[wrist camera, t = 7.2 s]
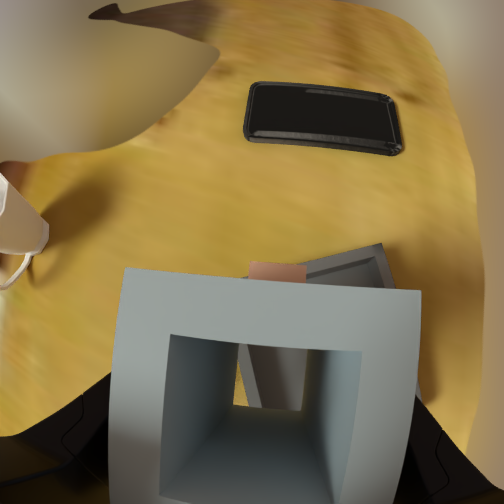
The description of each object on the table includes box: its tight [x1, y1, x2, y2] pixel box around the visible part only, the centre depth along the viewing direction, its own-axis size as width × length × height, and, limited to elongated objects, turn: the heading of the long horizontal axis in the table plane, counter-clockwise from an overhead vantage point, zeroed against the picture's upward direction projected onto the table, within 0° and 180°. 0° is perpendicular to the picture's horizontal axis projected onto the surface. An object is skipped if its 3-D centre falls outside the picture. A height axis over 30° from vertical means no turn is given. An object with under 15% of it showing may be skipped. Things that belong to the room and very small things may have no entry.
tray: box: [238, 243, 422, 411], centre depth 21 cm, size 14×12×3 cm
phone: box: [243, 81, 402, 156], centre depth 28 cm, size 8×1×15 cm
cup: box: [0, 173, 49, 290], centre depth 23 cm, size 7×10×8 cm
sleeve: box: [108, 261, 421, 504], centre depth 11 cm, size 8×6×11 cm
